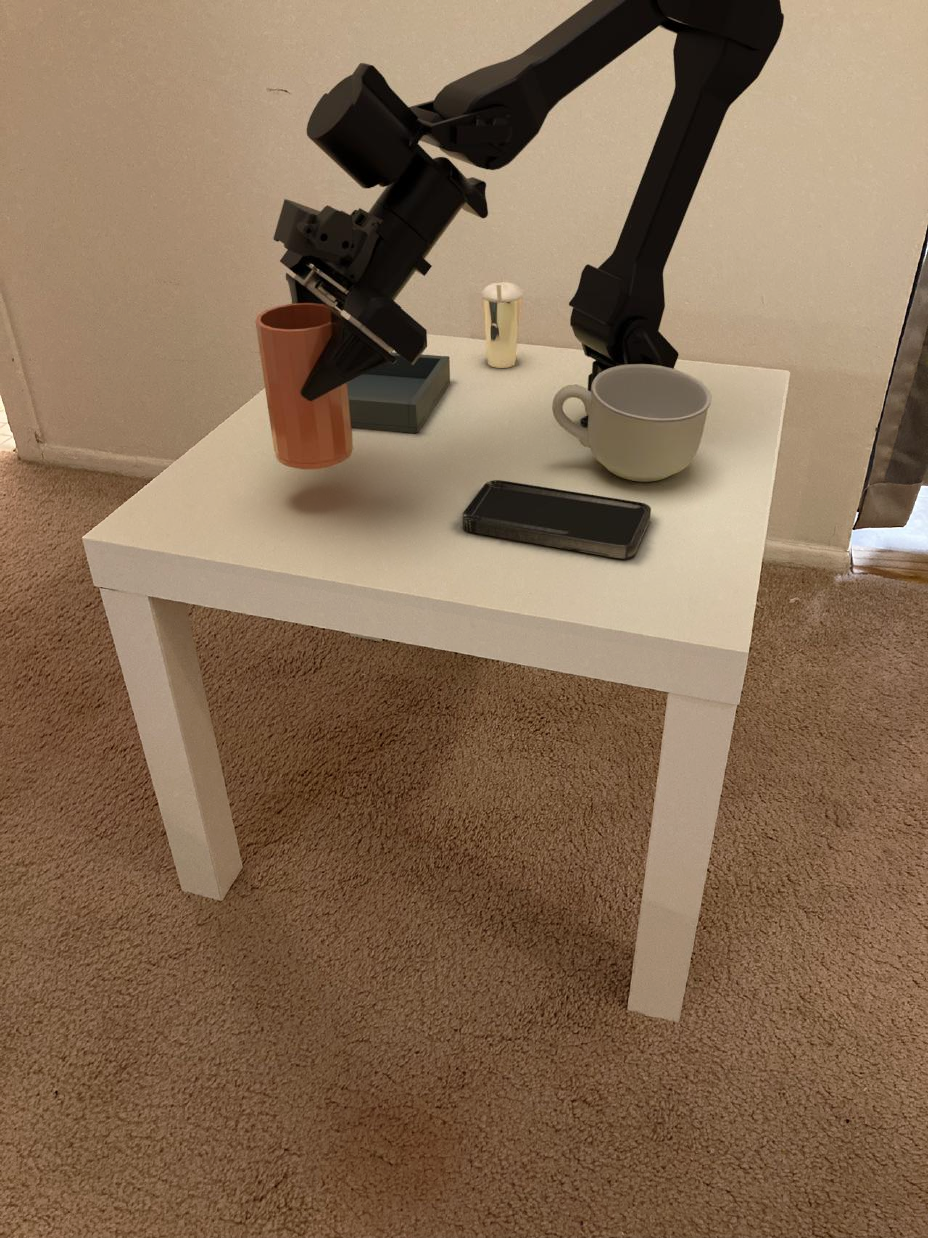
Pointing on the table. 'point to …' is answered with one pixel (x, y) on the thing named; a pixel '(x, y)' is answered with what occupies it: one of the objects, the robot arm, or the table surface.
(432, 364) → the tray
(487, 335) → the milkshake
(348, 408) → the cup
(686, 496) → the table surface
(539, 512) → the phone
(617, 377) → the teacup
